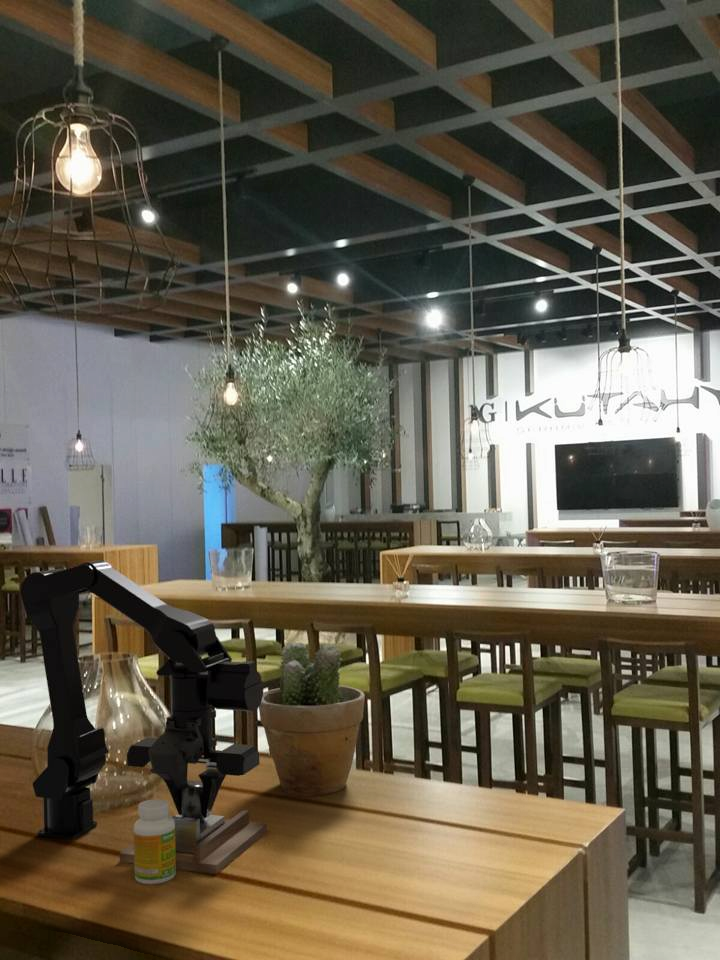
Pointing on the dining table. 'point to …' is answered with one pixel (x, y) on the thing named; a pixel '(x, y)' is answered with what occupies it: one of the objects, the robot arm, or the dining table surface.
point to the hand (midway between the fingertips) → (194, 815)
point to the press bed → (215, 846)
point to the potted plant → (311, 722)
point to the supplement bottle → (154, 843)
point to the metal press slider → (193, 818)
